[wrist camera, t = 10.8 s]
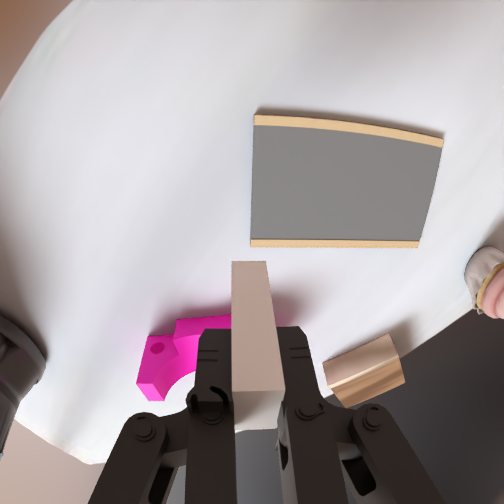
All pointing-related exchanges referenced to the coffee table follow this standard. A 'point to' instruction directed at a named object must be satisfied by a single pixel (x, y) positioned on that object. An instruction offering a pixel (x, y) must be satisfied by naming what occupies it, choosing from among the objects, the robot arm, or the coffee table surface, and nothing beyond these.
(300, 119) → the mat
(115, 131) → the coffee table surface
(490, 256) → the cupcake
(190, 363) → the toy block
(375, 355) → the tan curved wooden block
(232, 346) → the robot arm
